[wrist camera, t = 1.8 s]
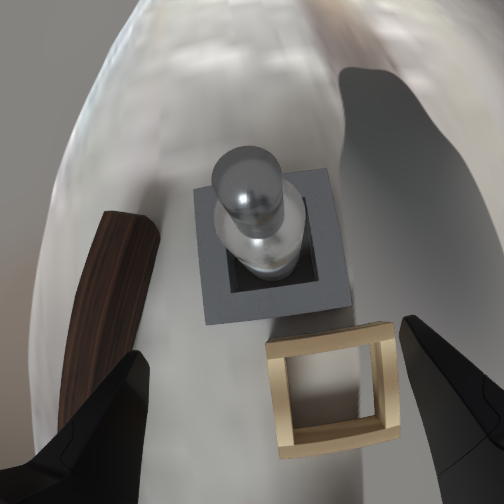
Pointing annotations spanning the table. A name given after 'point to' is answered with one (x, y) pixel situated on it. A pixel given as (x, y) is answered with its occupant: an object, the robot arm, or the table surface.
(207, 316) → the socket
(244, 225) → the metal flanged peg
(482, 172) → the table surface
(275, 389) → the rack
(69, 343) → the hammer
